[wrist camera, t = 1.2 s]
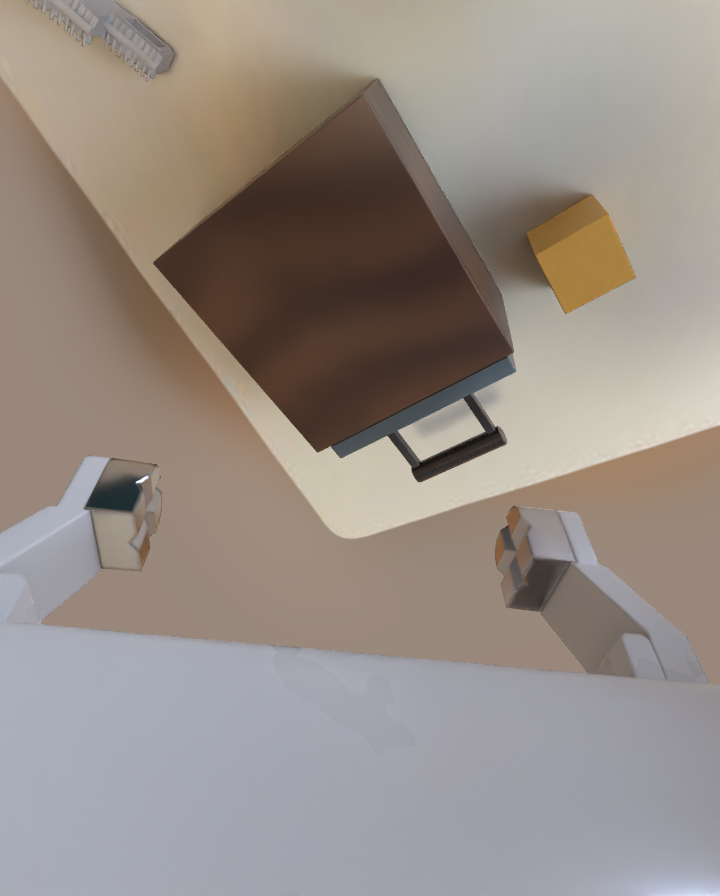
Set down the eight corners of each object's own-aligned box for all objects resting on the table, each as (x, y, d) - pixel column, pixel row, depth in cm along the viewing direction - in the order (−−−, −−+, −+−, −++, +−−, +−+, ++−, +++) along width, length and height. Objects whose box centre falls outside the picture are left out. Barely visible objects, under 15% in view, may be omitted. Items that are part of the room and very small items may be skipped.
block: (618, 253, 38) (636, 277, 35) (554, 288, 40) (565, 314, 36) (592, 193, 36) (608, 212, 33) (525, 233, 38) (534, 255, 35)
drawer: (540, 382, 43) (554, 435, 38) (390, 454, 49) (383, 509, 44) (395, 131, 35) (386, 153, 29) (231, 254, 40) (198, 291, 35)
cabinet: (502, 295, 41) (514, 352, 34) (335, 388, 47) (317, 453, 40) (378, 77, 34) (362, 93, 27) (201, 220, 40) (152, 263, 33)
